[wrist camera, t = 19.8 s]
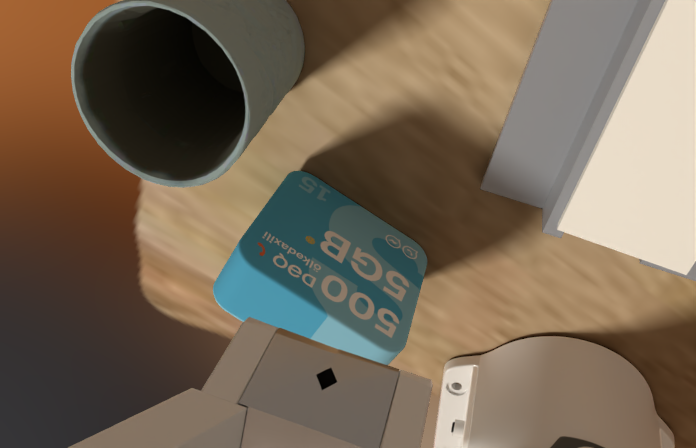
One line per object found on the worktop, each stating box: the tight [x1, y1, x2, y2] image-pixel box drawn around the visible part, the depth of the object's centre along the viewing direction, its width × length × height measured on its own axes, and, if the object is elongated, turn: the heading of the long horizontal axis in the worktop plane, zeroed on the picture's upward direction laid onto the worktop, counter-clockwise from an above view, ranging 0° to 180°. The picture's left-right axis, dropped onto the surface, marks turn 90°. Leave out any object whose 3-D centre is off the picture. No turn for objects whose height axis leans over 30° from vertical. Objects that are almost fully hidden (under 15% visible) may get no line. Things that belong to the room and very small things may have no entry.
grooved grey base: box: [480, 0, 696, 281], centre depth 35 cm, size 22×16×5 cm
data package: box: [213, 171, 427, 365], centre depth 44 cm, size 12×4×12 cm, turn 60°
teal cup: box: [71, 0, 305, 187], centre depth 38 cm, size 10×10×12 cm
